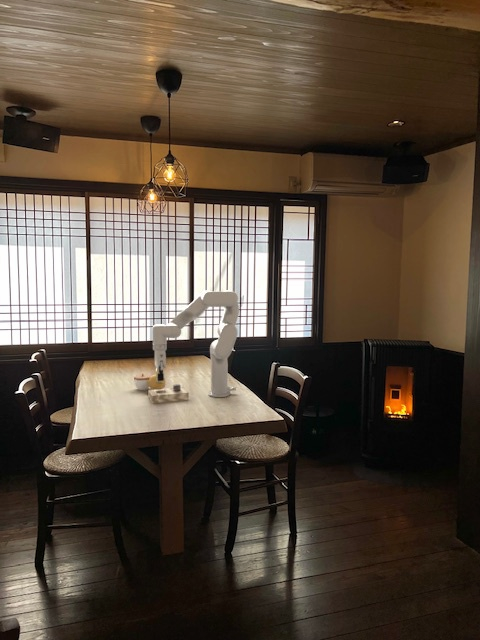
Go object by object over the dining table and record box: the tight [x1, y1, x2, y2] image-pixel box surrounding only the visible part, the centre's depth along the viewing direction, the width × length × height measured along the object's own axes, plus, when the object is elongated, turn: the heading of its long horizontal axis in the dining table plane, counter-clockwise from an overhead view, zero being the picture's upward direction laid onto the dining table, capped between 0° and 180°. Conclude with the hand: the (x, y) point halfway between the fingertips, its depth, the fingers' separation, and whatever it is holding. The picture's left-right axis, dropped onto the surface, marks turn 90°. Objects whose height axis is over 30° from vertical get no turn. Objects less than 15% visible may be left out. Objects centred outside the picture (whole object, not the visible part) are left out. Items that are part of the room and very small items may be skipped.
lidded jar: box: [133, 372, 152, 391], centre depth 283 cm, size 11×11×9 cm
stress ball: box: [148, 373, 166, 390], centre depth 278 cm, size 10×10×10 cm
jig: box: [147, 383, 190, 404], centre depth 262 cm, size 20×13×7 cm, turn 110°
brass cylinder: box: [155, 368, 163, 384], centre depth 260 cm, size 4×4×8 cm
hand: (159, 379), depth 260 cm, fingers closed on brass cylinder, 4 cm apart
